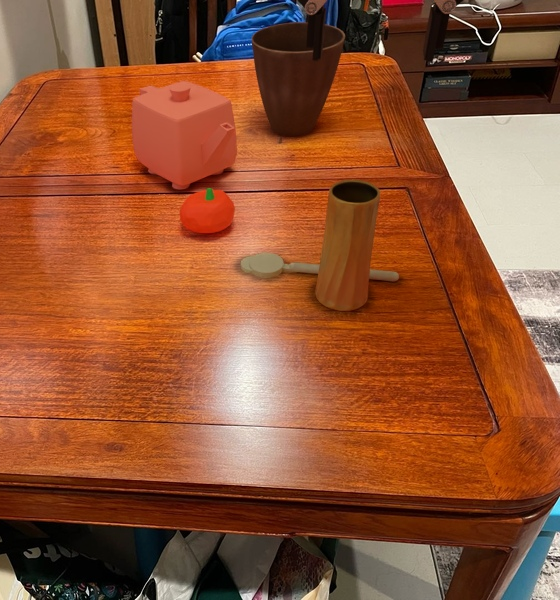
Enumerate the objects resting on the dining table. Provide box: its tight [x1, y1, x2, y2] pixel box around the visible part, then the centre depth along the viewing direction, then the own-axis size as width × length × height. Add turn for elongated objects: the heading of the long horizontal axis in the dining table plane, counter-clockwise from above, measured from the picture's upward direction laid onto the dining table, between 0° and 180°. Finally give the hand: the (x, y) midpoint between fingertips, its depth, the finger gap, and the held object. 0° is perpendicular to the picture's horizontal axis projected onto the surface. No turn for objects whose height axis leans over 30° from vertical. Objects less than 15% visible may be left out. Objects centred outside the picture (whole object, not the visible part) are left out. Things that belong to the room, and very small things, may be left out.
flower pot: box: [251, 21, 346, 138], centre depth 106 cm, size 15×15×16 cm
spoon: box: [240, 252, 400, 282], centre depth 78 cm, size 19×4×1 cm, turn 74°
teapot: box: [131, 80, 238, 190], centre depth 97 cm, size 22×13×14 cm, turn 35°
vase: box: [314, 179, 381, 312], centre depth 70 cm, size 6×6×14 cm
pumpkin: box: [179, 187, 236, 234], centre depth 86 cm, size 7×8×6 cm
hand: (371, 56), depth 57 cm, fingers open, 9 cm apart
